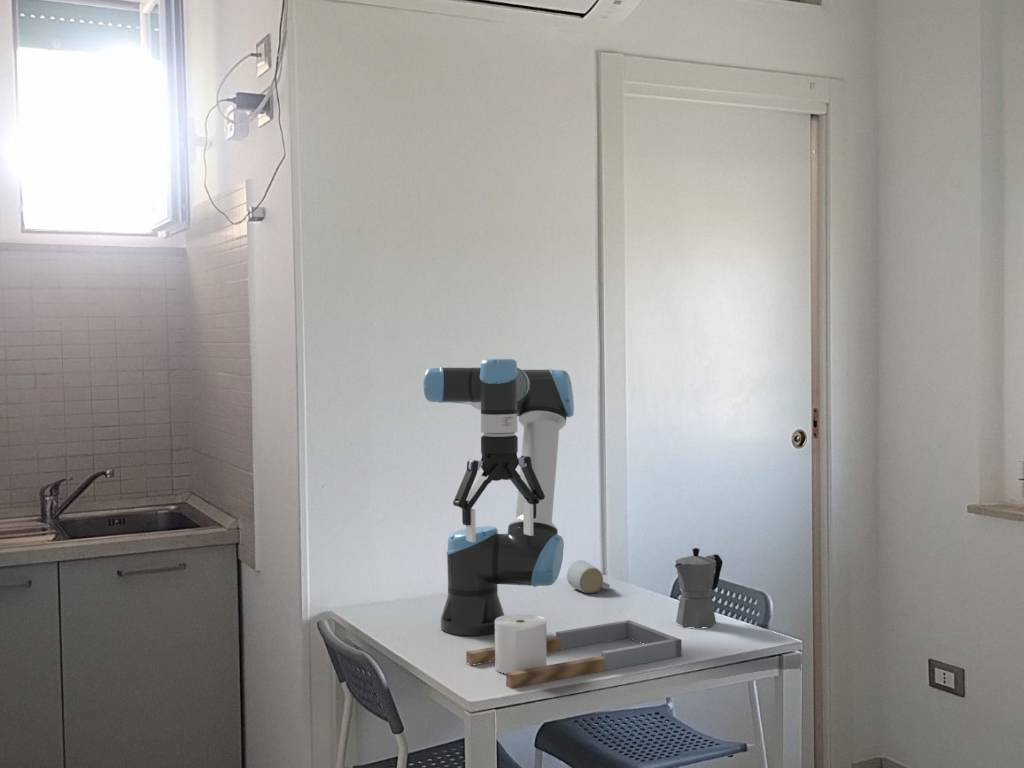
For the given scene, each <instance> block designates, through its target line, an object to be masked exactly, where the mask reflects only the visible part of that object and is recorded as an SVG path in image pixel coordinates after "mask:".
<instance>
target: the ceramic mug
mask: <svg viewBox="0 0 1024 768" xmlns="http://www.w3.org/2000/svg"><path fill="white" fill-rule="evenodd" d="M566 579H567V582H568V584H569V585H570V586H571V588H574V589H576V590H578V591H580V592H583V594H584V593H585V594H588V595H589V594H590V593H591V594H595V593H597V592H598V591H599V590H600V589H604V590H606V591H608V590H610V583H608V582H606V581H604V576H603V573H602V572H601V571H600V569H599V568H597V567H596V566H594V565H593V564H591V563H589V562H587V561H586V560H576V561H573V562H572V563H571V564H570V565H569V567H568V569H567V572H566Z"/></svg>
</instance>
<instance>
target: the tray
mask: <svg viewBox="0 0 1024 768" xmlns="http://www.w3.org/2000/svg"><path fill="white" fill-rule="evenodd" d="M555 637H558V638H560V639H561V650H564V649H570V648H577V647H581V646H582V645H583V646H587V645H588V644H589V645H594V644H599V643H598V642H600V643H604V641H606V642H610V640H612V641H615V639H618V640H621V638H623V639H629V638H630V640H632V639H633V640H632V641H634V640H636V641H635V642H637V641H638V642H637V643H639V642H641V643H640V644H637V645H630V646H624V647H619V648H614V649H610V650H608V649H607V650H601V651H600V656H601V657H603V658H605V671H609V670H614V669H620V668H625V667H631V666H634V665H635V666H636V665H642V664H645V663H651V662H657V661H663V660H667V659H672V658H673V659H674V658H678V657H679V658H680V657H682V639H681V638H677V637H675V636H674V635H673V636H672V635H670V634H668V633H665V632H662V631H659V630H656V629H654V628H651V627H649V626H646V625H643V624H640V623H638V622H636V621H633V620H629V619H628V620H626V619H625V620H621V621H614V622H608V623H604V624H597V625H591V626H585V627H577V628H573V629H566V630H560V631H555ZM627 637H628V638H627ZM642 643H644V644H642ZM583 646H582V647H583Z"/></svg>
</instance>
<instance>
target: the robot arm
mask: <svg viewBox="0 0 1024 768" xmlns="http://www.w3.org/2000/svg"><path fill="white" fill-rule="evenodd" d="M571 381H572V380H571V378H570V375H569V373H568V371H566V370H563V369H552V368H549V369H521V368H520V367H518V364H517V361H516V360H515V359H514V358H485V359H483V360H482V361H481V362H480V367H443V366H439V367H430V368H428V369H427V370H426V371H425V374H424V377H423V394H424V397H425V399H426V401H428V402H430V403H439V404H442V403H444V404H445V403H452V404H463V405H469V406H472V407H473V408H475V409H477V410H479V411H480V433H482V434H483V435H481V437H480V453H481V459H480V460H476V459H472V458H470V459H468V460H467V462H466V470H465V473H464V476H463V477H462V480H461V483H460V485H459V486H458V489H457V493H456V495H455V496H454V499H453V501H452V503H453V506H455V507H458V508H461V512H462V513H461V519H462V520H461V522H462V525H463V526H465V528H462V529H460V530H457V531H453V532H452V533H451V534H449V536H448V538H447V551H446V556H447V558H446V559H447V597H446V600H445V604H444V605H443V606H444V608H443V611H442V613H441V617H440V629H441V631H443V632H446V633H449V634H451V635H456V636H457V635H459V636H483V635H484V636H485V635H490V634H495V619H496V618H498V617H500V616H505V615H506V614H505V613H504V609H503V606H502V604H501V601H500V600H501V599H500V597H499V594H498V593H499V592H498V590H499V589H498V585H504V586H505V585H507V586H508V585H509V586H510V585H511V586H512V585H513V586H532V587H540V586H543V587H548V586H551V585H553V584H555V582H556V581H557V579H558V578H559V575H560V572H561V568H562V564H563V558H564V547H565V546H564V545H565V544H564V538H563V536H561V535H559V534H558V533H559V532H558V531H559V530H558V528H557V527H556V525H555V524H554V523H553V510H554V498H555V489H556V487H555V486H556V474H557V473H556V472H557V463H558V449H559V439H560V438H559V435H560V430H562V429H563V428H564V427H565V426H566V423H567V418H571V417H573V416H574V412H575V406H574V395H573V386H572V382H571ZM518 422H519V423H520V425H521V426H523V435H522V446H521V447H522V448H521V455H520V457H518V451H519V450H518V449H519V447H518V446H519V444H518V443H519V442H518V441H519V440H518V438H519V437H518V436H517V435H516V433H518ZM518 466H519V467H520V468H519V472H518V471H517V470H516V469H517V468H518ZM480 469H482V472H481V473H480V474H479V476H478V479H477V481H476V482H475V479H476V478H477V477H476V476H477V475H478V471H479V470H480ZM500 480H501V481H502V480H504V481H508V480H509V481H510V482H512V484H513V485H514V486H515V488H516V489H517V498H516V499H517V500H516V508H515V509H516V511H515V519H514V520H513V521H511V522H510V523H509V524H508V525H507V526H508V527H507V533H499V530H498V528H497V527H495V526H490V525H489V526H488V525H482V526H476V509H474V508H473V506H474V505H475V504H476V503H477V501H478V499H479V498H480V497H481V496H482V494H483V493H484V491H485V490H486V488H487V487H488V485H489V484H491V483H492V482H493V481H494V482H498V481H500ZM474 482H475V484H474ZM473 484H474V485H473Z"/></svg>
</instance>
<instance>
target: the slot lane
mask: <svg viewBox="0 0 1024 768" xmlns="http://www.w3.org/2000/svg"><path fill="white" fill-rule="evenodd" d="M546 640H547V642H546V643H547V645H546V647H547V653H553V652H558V651H562V649H561V639H560V638H558V637H556V636H552V637H547V638H546ZM465 653H466V662H467V663H469V664H470V665H472V666H474V665H473V664H478V663H484V664H486V663H485V662H489V661H495V646H492V647H490V646H489V647H484V648H478V649H474V650H473V649H472V650H467V651H466V652H465ZM467 663H466V664H467ZM469 664H468V665H469ZM470 665H469V666H470ZM478 665H479V664H478ZM605 671H606V670H605V658H603V657H601V655H597V656H591V657H587V658H581V659H576V660H575V659H574V660H570V661H569V660H568V661H564V662H559V663H554V664H547V666H541V667H535V668H530V669H524V670H519V671H513V672H508V673H506V674H505V685H506V687H508V688H509V689H514V688H519V687H524V686H525V687H527V686H530V685H536V684H540V683H545V682H547V683H548V682H552V681H556V680H563V679H567V678H572V677H579V676H585V675H589V674H593V673H599V672H605Z"/></svg>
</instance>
